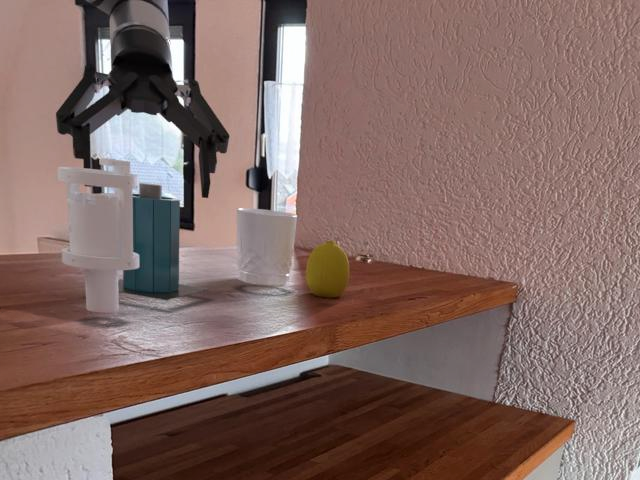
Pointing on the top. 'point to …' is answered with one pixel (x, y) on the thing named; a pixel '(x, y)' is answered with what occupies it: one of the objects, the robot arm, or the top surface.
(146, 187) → the grey peg stand
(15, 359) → the top surface
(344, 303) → the top surface
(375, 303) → the top surface
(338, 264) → the lemon
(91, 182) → the white stepped cylinder
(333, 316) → the top surface
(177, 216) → the ring sleeve
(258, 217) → the white cup
